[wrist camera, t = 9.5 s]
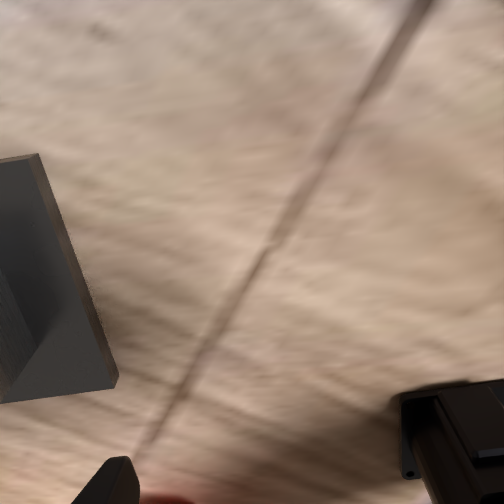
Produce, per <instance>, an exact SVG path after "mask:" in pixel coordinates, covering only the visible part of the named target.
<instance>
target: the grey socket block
mask: <svg viewBox="0 0 504 504" xmlns="http://www.w3.org/2000/svg"><path fill="white" fill-rule="evenodd" d="M0 267H1V269H2V271H3V273H4V275H5V278H6V280H7V282H8V284H9V287H10V289H11V291H12V293H13V295H14V298H15V300H16V302H17V304H18V307H19V309H20V311H21V313H22V315H23V318H24V320H25V322H26V324H27V327H28V329H29V331H30V333H31V335H32V338H33V340H34V342H35V344H36V346H37V350H36V352H35V353H34V355H33V356H32V358H31V359H30V360H29V362H28V363H27V365H26V366H25V368H24V369H23V371H22V372H21V374H20V375H19V376H18V378H17V379H16V381H15V382H14V384H13V385H12V387H11V388H10V390H9V391H8V393H7V394H6V395H5V397H4V398H3V400H2V401H1V403H0V404H3V403H10V402H18V401H25V400H32V399H40V398H47V397H55V396H62V395H69V394H77V393H84V392H91V391H99V390H106V389H113V388H115V385H116V383H117V380H118V377H119V373H118V370H117V367H116V365H115V362H114V359H113V356H112V354H111V351H110V348H109V346H108V343H107V340H106V337H105V335H104V332H103V329H102V326H101V324H100V321H99V318H98V315H97V313H96V310H95V307H94V304H93V302H92V299H91V296H90V293H89V291H88V288H87V285H86V283H85V280H84V277H83V274H82V272H81V269H80V266H79V263H78V261H77V258H76V255H75V252H74V250H73V247H72V244H71V241H70V239H69V236H68V233H67V230H66V228H65V225H64V222H63V220H62V217H61V214H60V211H59V209H58V206H57V203H56V200H55V198H54V195H53V192H52V189H51V187H50V184H49V181H48V178H47V176H46V173H45V170H44V167H43V165H42V162H41V159H40V157H39V154H38V153H36V154H30V155H24V156H18V157H12V158H6V159H0Z"/></svg>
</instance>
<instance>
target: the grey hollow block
mask: <svg viewBox="0 0 504 504" xmlns="http://www.w3.org/2000/svg"><path fill="white" fill-rule="evenodd" d="M36 350H37V346H36V344H35V342H34V340H33V338H32V335H31V333H30V331H29V329H28V327H27V324H26V322H25V320H24V318H23V315H22V313H21V311H20V309H19V307H18V304H17V302H16V300H15V298H14V295H13V293H12V291H11V289H10V287H9V284H8V282H7V280H6V278H5V275H4V273H3V271H2V269H1V267H0V403H1V401H2V400H3V398H4V397H5V395H6V394H7V393H8V391H9V390H10V388H11V387H12V385H13V384H14V382H15V381H16V379H17V378H18V376H19V375H20V374H21V372H22V371H23V369H24V368H25V366H26V365H27V363H28V362H29V360H30V359H31V358H32V356H33V355H34V353H35V352H36Z"/></svg>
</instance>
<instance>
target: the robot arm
mask: <svg viewBox="0 0 504 504" xmlns="http://www.w3.org/2000/svg"><path fill="white" fill-rule="evenodd" d="M409 402H411V403H409ZM407 403H408V404H407ZM399 452H400V471H401V474H402V477H403V478H404V479H407V480H412V479H420V478H422V479H423V482H424V484H425V487H426V489H427V491H428V494H429V496H430V499H431V501H432V504H504V381H499V382H491V383H483V384H476V385H468V386H460V387H453V388H445V389H438V390H430V391H422V392H415V393H407V394H404V395H402V396H401V397H400V398H399ZM139 498H140V484H139V480H138V477H137V475H136V472H135V470H134V467H133V464H132V462H131V460H130V458H129V457H128V456H119V457H112V458H109V459H108V460H107V461H106V462H105V463H104V464H103V465H102V466H101V468H100V469H99V470H98V471H97V473H96V474H95V475H94V476H93V477H92V479H91V480H90V481H89V482H88V483H87V485H86V486H85V487H84V488H83V490H82V491H81V492H80V493H79V494H78V496H77V497H76V498H75V499H74V501H73V502H72V503H71V504H139Z"/></svg>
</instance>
